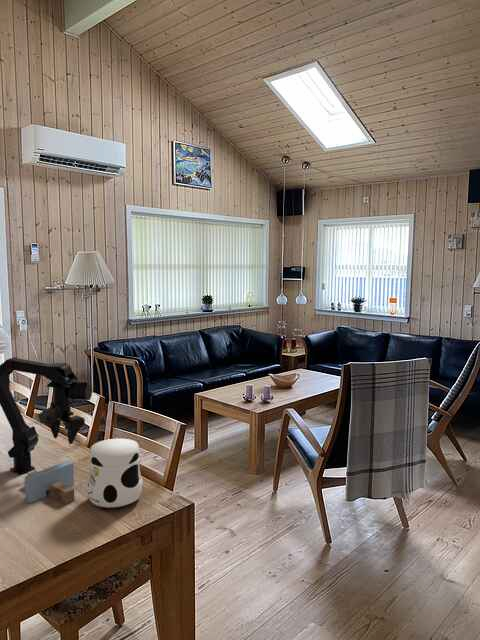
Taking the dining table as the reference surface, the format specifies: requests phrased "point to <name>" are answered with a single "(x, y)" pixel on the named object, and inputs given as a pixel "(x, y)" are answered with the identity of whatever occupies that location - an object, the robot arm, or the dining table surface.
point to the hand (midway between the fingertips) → (63, 440)
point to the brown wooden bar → (60, 492)
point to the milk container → (114, 473)
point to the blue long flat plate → (48, 480)
